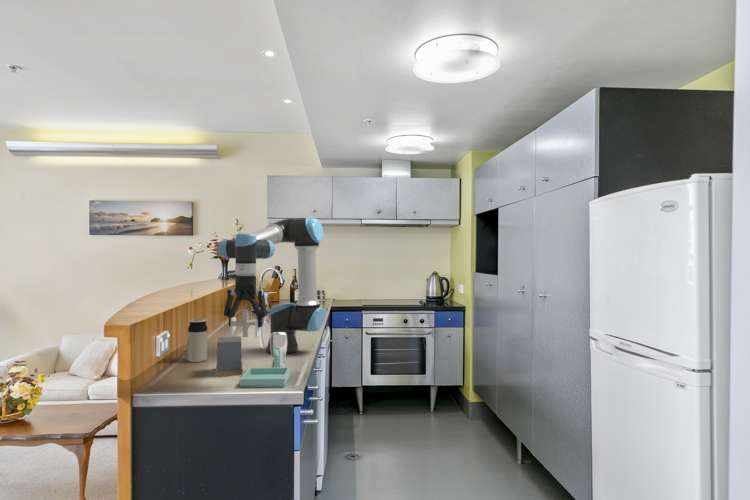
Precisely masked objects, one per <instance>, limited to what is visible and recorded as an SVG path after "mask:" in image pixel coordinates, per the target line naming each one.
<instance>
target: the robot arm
mask: <svg viewBox="0 0 750 500" xmlns="http://www.w3.org/2000/svg"><path fill="white" fill-rule="evenodd" d="M324 236H325V235H324V229H323V225H322V223H321V221H319V219H317V218H313V217H303V218H301V217H300V218H297V217H295V218H285V219H282V220H278V221H275V222H273V223H270V224H268V225H266V226H265V228H262V229H259V230H256V231H253V232H251V233H249V232H248V233H237V234H235V238H234V239H233V238H232V239H222V240H221V241H219V243H218V244H217V253H218V255H219V257H221V258H223V259H229V260H230V259H235V261H234V262H235V264H234V265H235V272H234V274H235V277H234V285H235V287H234V289H227V290H226V293H227V295H226V296H227V298H226V301H225V306H224V311H223V316H224V317H227V318H228V326H229V327H230V337H234V336H235V335H237V326H231V322H232V321H237V316H236V313H237V311H238V309H239V307H240V305H241V302H243V301H248V302H249V304H250V305H251V307H252V309H253V311H254V314H255V316H256V318H255V319H254V320H255V325H254V326H255V327H254V330H255V331H254V337H255V338H257V337H260V336H261V328H262V327H263V322H264V321H263V318H265V317H268V315H269V314H270V315H269V316H270V317H269V318H270V333H269V334H270V336H271V333H273V332H286V333H287V351H286V355H288V354H294V353H297V352H299V345H298V342H297V338H296V333H295V332H296V331H302V332H308V333H311V332H318V331H320V330H321V329H322V327H323V326H324V322H325V317H326V313H325V309H324V308H323V307H321V302H320V301H319V300H318V298H317V294H318V293H317V254H316V253H317V249H318V248H319V247H320V243H322V242H323V239H324ZM280 243H294V246H293V247H294V248H295V249H296V250H297V271H298V273H297V278H298V280H297V281H298V283H297V284H298V287H297V289H298V300H297V301H296V302H295V303H294V302H287V303H280V304H274V305H272V306H271V308H270V313H269V314H268V309H267V305H266V301H265V290H264V289H258V288H257V276H256V274H257V259H258V260H259V259H261V260H267V259H269V258H272V257H273V255H275V252H276V247H275V245H276V244H280ZM235 295H236V297H235V299H234V296H235ZM256 295H257V298H258V302H257V298H256ZM233 301H234V303H233ZM270 336H269V337H270ZM266 353H267V354H271V351H270V338H269V339H268V342H267V344H266Z"/></svg>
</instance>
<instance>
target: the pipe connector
mask: <svg viewBox="0 0 750 500" xmlns="http://www.w3.org/2000/svg"><path fill="white" fill-rule="evenodd" d="M248 312H249V310H248V309H242V319H241V320H236V321H232V322H231V326H236V327H241V326H242V338H248V337H249V328H250V326H255V319H253V320H251V319H250V320H249V313H248ZM231 326H230V327H231Z"/></svg>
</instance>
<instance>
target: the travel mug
mask: <svg viewBox="0 0 750 500" xmlns="http://www.w3.org/2000/svg"><path fill="white" fill-rule="evenodd" d="M188 322H189V325H188V328H187V362H189V363H202V362H205V361H207V360H208V326H207V322H208V319H206V318H192V319H189V320H188Z"/></svg>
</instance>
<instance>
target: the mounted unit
mask: <svg viewBox="0 0 750 500" xmlns="http://www.w3.org/2000/svg"><path fill="white" fill-rule="evenodd" d="M214 374H215V376H214V377H215V378H217V377H219V378H220V377H230V376H231V377H232V376H233V375H234V376H243V375H244V374H243V362H242V336H222V337H218V338H217V342H216V367H215V373H214Z"/></svg>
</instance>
